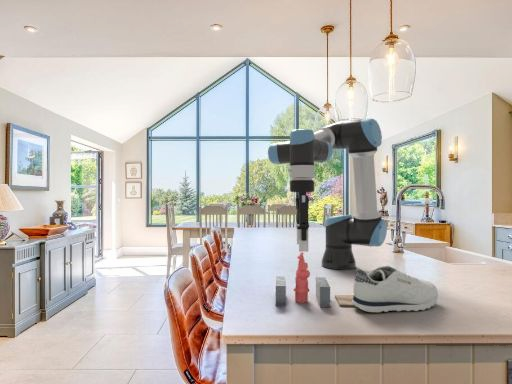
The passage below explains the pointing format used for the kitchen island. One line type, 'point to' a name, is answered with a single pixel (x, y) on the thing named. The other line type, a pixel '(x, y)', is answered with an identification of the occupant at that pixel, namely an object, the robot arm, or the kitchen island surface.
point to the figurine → (301, 280)
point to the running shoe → (392, 291)
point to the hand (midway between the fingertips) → (302, 247)
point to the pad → (345, 300)
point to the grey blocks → (321, 291)
